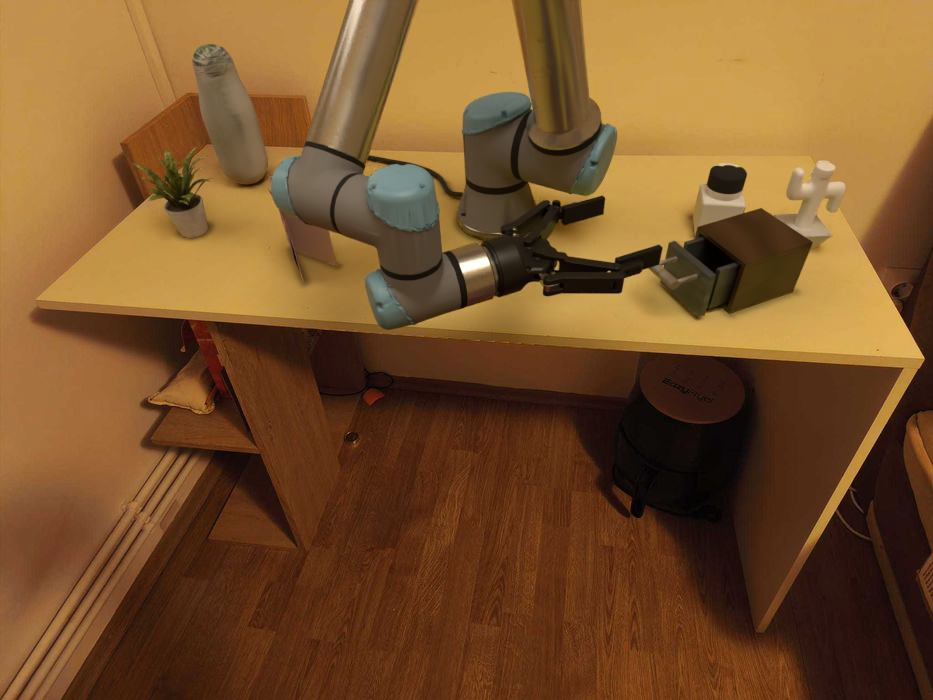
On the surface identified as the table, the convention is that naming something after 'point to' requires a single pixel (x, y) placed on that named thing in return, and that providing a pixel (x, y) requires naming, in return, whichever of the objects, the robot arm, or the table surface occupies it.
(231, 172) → the grey bottle
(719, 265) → the grey pull-out drawer
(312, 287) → the table surface
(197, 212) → the house plant
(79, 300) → the table surface
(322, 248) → the greeting card
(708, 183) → the medicine bottle
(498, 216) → the robot arm
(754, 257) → the cabinet
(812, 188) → the figurine
